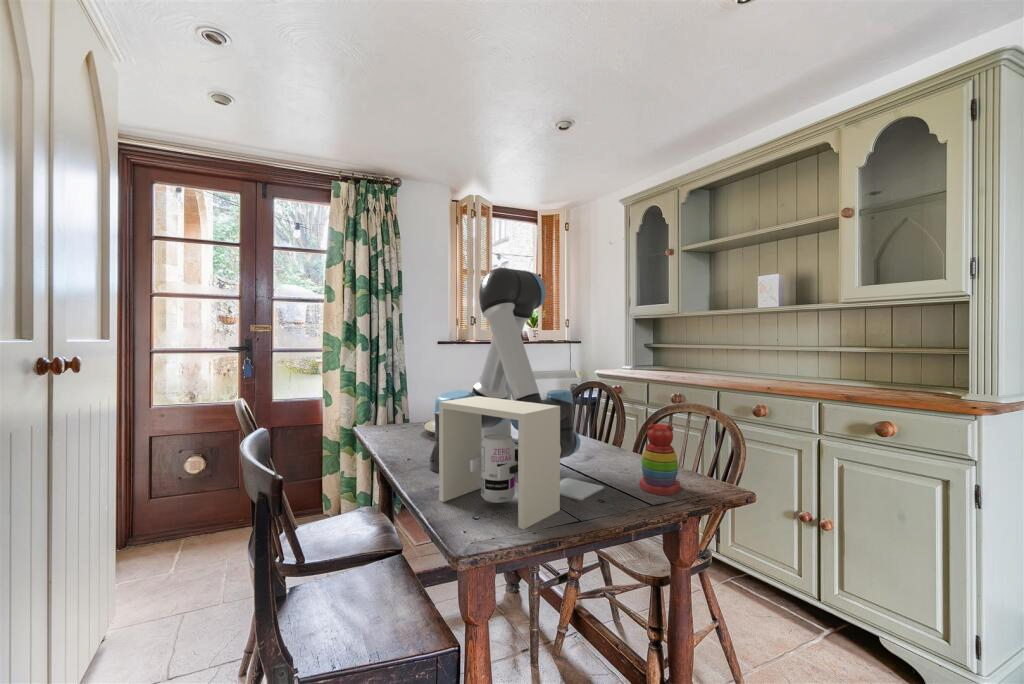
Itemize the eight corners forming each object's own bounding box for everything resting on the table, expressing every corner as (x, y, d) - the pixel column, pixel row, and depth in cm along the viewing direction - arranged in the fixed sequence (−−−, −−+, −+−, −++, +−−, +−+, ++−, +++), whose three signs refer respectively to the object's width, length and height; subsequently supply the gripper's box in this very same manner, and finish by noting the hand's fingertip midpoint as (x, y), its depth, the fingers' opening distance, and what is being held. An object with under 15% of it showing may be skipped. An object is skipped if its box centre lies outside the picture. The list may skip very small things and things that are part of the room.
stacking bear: (680, 485, 130) (681, 421, 130) (681, 497, 121) (681, 428, 121) (640, 481, 134) (640, 419, 134) (637, 493, 124) (638, 426, 124)
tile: (581, 500, 119) (581, 498, 119) (542, 490, 126) (542, 488, 126) (604, 488, 128) (604, 486, 128) (566, 479, 136) (566, 477, 136)
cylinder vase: (481, 436, 191) (481, 375, 191) (512, 437, 190) (512, 375, 189) (476, 443, 179) (476, 378, 178) (509, 444, 177) (509, 378, 177)
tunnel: (523, 529, 101) (523, 413, 101) (439, 500, 118) (439, 401, 118) (559, 510, 112) (560, 406, 112) (477, 486, 129) (477, 396, 129)
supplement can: (498, 489, 121) (498, 431, 121) (521, 497, 115) (521, 436, 115) (474, 497, 115) (474, 436, 115) (497, 506, 110) (497, 442, 109)
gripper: (573, 471, 122) (519, 495, 105) (511, 457, 136) (454, 476, 118) (573, 443, 122) (519, 461, 105) (511, 432, 136) (454, 446, 118)
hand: (484, 469), depth 111 cm, fingers closed on supplement can, 8 cm apart
